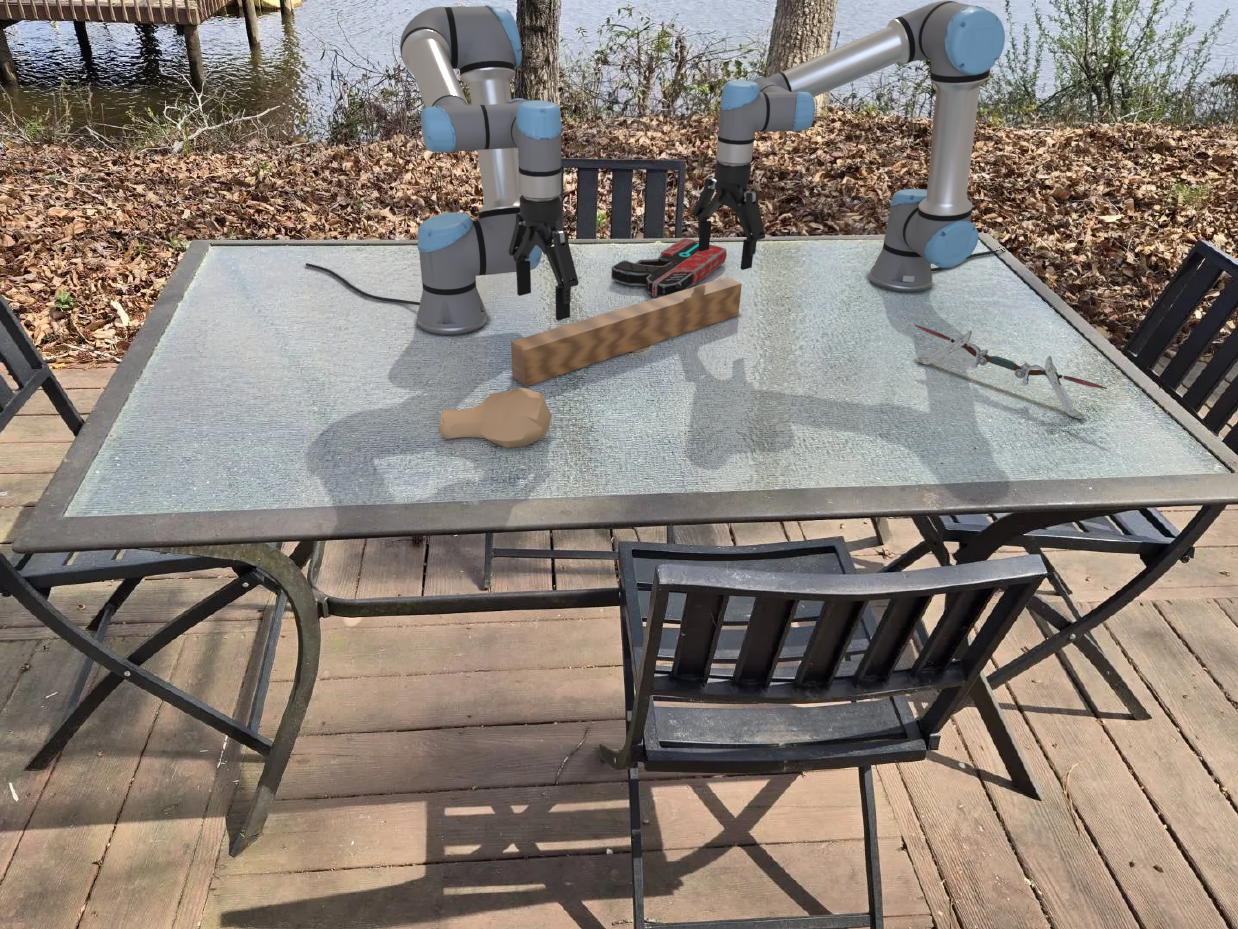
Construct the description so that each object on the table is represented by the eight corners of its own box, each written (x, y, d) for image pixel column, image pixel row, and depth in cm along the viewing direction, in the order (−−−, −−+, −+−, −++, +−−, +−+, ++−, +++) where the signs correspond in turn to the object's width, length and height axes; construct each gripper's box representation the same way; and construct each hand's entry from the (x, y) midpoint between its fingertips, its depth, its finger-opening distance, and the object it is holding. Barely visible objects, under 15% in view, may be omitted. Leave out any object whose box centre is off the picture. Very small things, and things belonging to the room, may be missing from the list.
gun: (605, 267, 214) (675, 286, 206) (666, 230, 236) (731, 246, 228) (605, 285, 217) (674, 304, 209) (664, 246, 239) (729, 263, 231)
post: (525, 386, 173) (524, 350, 168) (512, 377, 176) (510, 341, 172) (738, 315, 204) (741, 283, 199) (724, 308, 207) (727, 276, 202)
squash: (553, 454, 153) (544, 415, 147) (441, 463, 154) (428, 425, 148) (556, 414, 161) (548, 375, 154) (450, 422, 162) (438, 384, 156)
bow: (1096, 421, 167) (1113, 374, 161) (1092, 425, 165) (1110, 378, 160) (909, 355, 188) (919, 312, 182) (905, 358, 187) (915, 315, 181)
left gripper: (598, 210, 150) (597, 324, 162) (521, 174, 166) (525, 280, 178) (562, 218, 146) (563, 334, 158) (486, 180, 162) (493, 288, 174)
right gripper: (790, 172, 177) (777, 272, 189) (706, 146, 194) (698, 239, 205) (764, 178, 174) (752, 280, 185) (680, 150, 190) (674, 245, 201)
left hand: (543, 305), depth 168 cm, fingers open, 13 cm apart
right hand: (724, 259), depth 195 cm, fingers open, 13 cm apart
